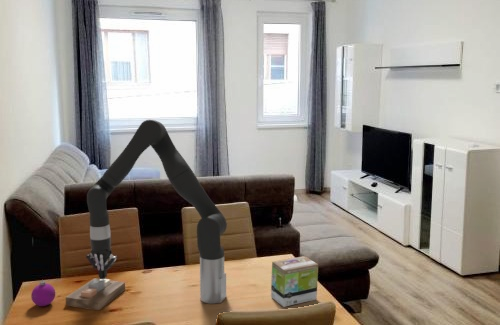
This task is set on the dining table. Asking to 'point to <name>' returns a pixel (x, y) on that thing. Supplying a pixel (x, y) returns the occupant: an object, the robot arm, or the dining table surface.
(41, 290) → the christmas ornament
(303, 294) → the tea box
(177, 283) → the dining table surface
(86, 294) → the key terracotta
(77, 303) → the keypad board
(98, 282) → the key slate
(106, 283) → the key ivory
